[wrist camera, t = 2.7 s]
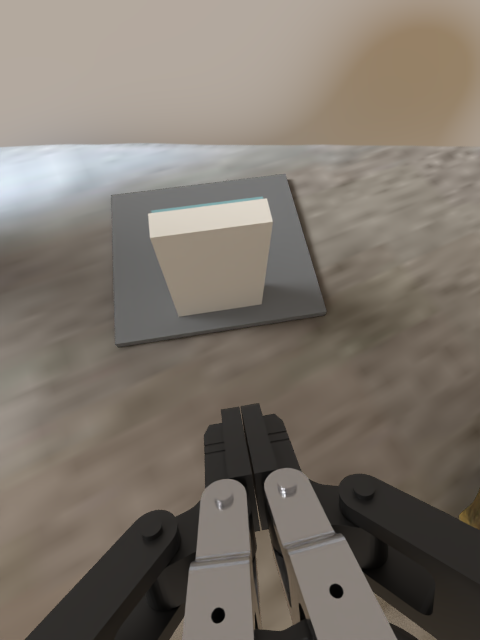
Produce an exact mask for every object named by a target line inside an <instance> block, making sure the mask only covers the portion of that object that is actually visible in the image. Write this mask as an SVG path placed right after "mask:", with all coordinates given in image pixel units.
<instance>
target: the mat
mask: <svg viewBox="0 0 480 640" xmlns="http://www.w3.org/2000/svg"><path fill="white" fill-rule="evenodd" d="M262 196H263V199H266V198H267V201H268V205H269V208H270V212H271V216H272V220H273V225H272V232H271V239H270V247H269V254H268V261H267V269H266V276H265V283H264V290H263V298H262V304H260V305H254V306H247V307H240V308H234V309H227V310H220V311H214V312H207V313H200V314H194V315H187V316H181V317H179V316H178V313H177V311H176V308H175V305H174V302H173V300H172V297H171V294H170V291H169V289H168V286H167V283H166V280H165V278H164V275H163V272H162V270H161V267H160V264H159V261H158V259H157V256H156V253H155V250H154V248H153V245H152V242H151V239H150V232H149V220H148V214H149V213H152V212H151V211H152V210H160V209H168V208H176V207H183V206H191V205H199V204H207V203H215V202H223V201H231V200H238V199H246V198H254V197H262ZM111 211H112V248H113V284H114V321H115V345H116V346H117V347H123V346H129V345H135V344H142V343H148V342H155V341H161V340H168V339H174V338H181V337H187V336H194V335H200V334H207V333H213V332H219V331H226V330H232V329H239V328H245V327H252V326H258V325H265V324H271V323H278V322H284V321H290V320H297V319H303V318H310V317H316V316H323V315H325V314H326V312H327V311H326V307H325V304H324V301H323V297H322V294H321V291H320V287H319V284H318V281H317V277H316V274H315V271H314V267H313V264H312V261H311V257H310V254H309V251H308V247H307V244H306V241H305V237H304V234H303V231H302V227H301V224H300V221H299V217H298V214H297V211H296V207H295V204H294V201H293V197H292V194H291V191H290V187H289V184H288V181H287V178H286V174H280V175H271V176H263V177H255V178H247V179H239V180H231V181H223V182H215V183H206V184H198V185H190V186H182V187H174V188H166V189H158V190H150V191H141V192H133V193H125V194H117V195H111Z"/></svg>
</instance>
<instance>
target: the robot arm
mask: <svg viewBox="0 0 480 640" xmlns="http://www.w3.org/2000/svg"><path fill="white" fill-rule="evenodd" d="M241 413H242V419H241V414H240V408H239V407H234V408H228V409H222V410H221V415H222V423H219V424H213V425H209V427H208V429H207V431H206V432H205V434H204V446H205V447H204V451H205V490H204V492H203V493H202V496H201V500H200V501H199V502H198V503H197V504H196V505H195V506H194V507H193V508H191V509H190V510H188V511H186V512H184V513H182V514H180V515H178V516H176V517H175V516H174V515H173V514H172V513H170V512H168V511H165V510H155V511H151V512H149V513H146V514H144V515H143V516H141V517H140V518H139V519H138V520H136V521H135V522H134V524H133V525H132V526H131V527H130V528H129V529H128V530H127V531H126V532H125V533H124V534H123V535H122V536H121V537H120V538H119V540H118V541H117V542H116V543H115V544H114V545H113V546H112V547H111V548H110V549H109V550H108V551H107V552H106V553H105V554H104V556H103V557H102V558H101V559H100V560H99V561H98V562H97V563H96V564H95V565H94V566H93V567H92V568H91V569H90V570H89V572H88V573H87V574H86V575H85V576H84V577H83V578H82V579H81V580H80V581H79V582H78V583H77V584H76V585H75V586H74V588H73V589H72V590H71V591H70V592H69V593H68V594H67V595H66V596H65V597H64V598H63V599H62V600H61V601H60V602H59V604H58V605H57V606H56V607H55V608H54V609H53V610H52V611H51V612H50V613H49V614H48V615H47V616H46V617H45V618H44V620H43V621H42V622H41V623H40V624H39V625H38V626H37V627H36V628H35V629H34V630H33V631H32V632H31V633H30V634H29V636H28V637H27V638H26V639H25V640H169V639H170V638H171V636H172V635H173V633H174V631H175V630H176V628H177V627H178V625H179V624H180V622H181V620H182V619H183V617H184V627H183V637H182V640H418V639H417V638H415V637H414V636H413V635H411V634H409V633H408V632H406V631H405V630H403V629H401V628H399V627H397V626H395V625H393V624H391V623H388V621H387V619H386V617H385V615H384V613H383V611H382V609H381V607H380V605H379V603H378V601H377V599H376V597H375V595H374V593H375V594H377V595H378V596H380V597H381V598H382V599H384V600H385V601H386V602H388V603H389V604H390V605H392V606H393V607H394V608H396V609H397V610H398V611H400V612H401V613H402V614H404V615H405V616H407V617H408V618H409V619H411V620H412V621H413V622H415V623H416V624H417V625H419V626H420V627H421V628H423V629H424V630H425V631H427V632H428V633H430V634H431V635H432V636H434V637H435V638H436V639H438V640H480V530H478V529H476V528H474V527H472V526H470V525H468V524H466V523H465V522H463V521H461V520H459V519H457V518H455V517H453V516H451V515H449V514H447V513H445V512H443V511H441V510H439V509H437V508H435V507H433V506H431V505H429V504H427V503H425V502H423V501H421V500H419V499H417V498H415V497H413V496H411V495H409V494H407V493H405V492H403V491H401V490H399V489H397V488H395V487H393V486H391V485H389V484H387V483H385V482H383V481H381V480H379V479H377V478H375V477H372V476H370V475H366V474H353V475H349V476H347V477H345V478H344V479H343V480H342V481H341V483H340V485H339V486H330V485H322V484H318V483H316V482H313V481H311V480H310V479H308V478H307V476H306V475H305V474H304V473H302V471H301V469H300V466H299V464H298V461H297V458H296V455H295V453H294V450H293V447H292V445H291V442H290V440H289V437H288V434H287V432H286V428H285V426H284V423H283V421H282V420H281V419H280V418H279V417H278V416H276V415H275V414H271V415H265V416H262V412H261V409H260V405H259V403H257V404H251V405H245V406H241ZM242 420H243V424H242ZM243 426H244V429H243ZM244 433H245V435H244ZM254 490H255V491H254ZM255 495H256V498H255ZM256 500H257V505H258V511H259V516H260V521H261V527H262V530H266V529H269V533H270V537H271V543H272V551H273V556H274V559H275V563H276V566H277V570H278V573H279V577H280V580H281V584H282V587H283V591H284V594H285V598H286V601H287V605H288V608H289V611H290V615H291V619H292V623H293V626H291V627H289V628H287V629H285V630H283V631H271V630H262V621H261V609H260V597H259V584H258V572H257V560H256V549H257V545H256V538H255V532H256V531H260V526H259V519H258V512H257V505H256ZM373 592H374V593H373Z"/></svg>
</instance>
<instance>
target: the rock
mask: <svg viewBox="0 0 480 640" xmlns="http://www.w3.org/2000/svg"><path fill="white" fill-rule="evenodd" d="M459 520H461V521H463V522H465V523H466V524H468V525H470V526H472V527H474V528H476V529H478V530H480V489H479V491H478V494H477V496H476V498H475V500H474V502H473V503H472V504H471V505H470V506H469V507H467V508H466V509H465V510H464V511H463V512H462V513H461V514H460V515H459Z"/></svg>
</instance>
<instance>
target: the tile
mask: <svg viewBox="0 0 480 640" xmlns="http://www.w3.org/2000/svg"><path fill="white" fill-rule="evenodd" d="M151 212H152V213H149V214H148V220H149V232H150V239H151V242H152V245H153V248H154V250H155V253H156V256H157V259H158V261H159V264H160V267H161V270H162V272H163V275H164V278H165V280H166V283H167V286H168V289H169V291H170V294H171V297H172V300H173V302H174V305H175V308H176V311H177V313H178V316H179V317H181V316H187V315H194V314H200V313H207V312H214V311H220V310H227V309H234V308H240V307H247V306H254V305H260V304H262V298H263V290H264V283H265V276H266V269H267V261H268V254H269V247H270V239H271V232H272V225H273V220H272V216H271V212H270V208H269V205H268V201H267V198H266V199H263V196H262V197H254V198H246V199H238V200H231V201H223V202H215V203H207V204H199V205H191V206H183V207H176V208H168V209H160V210H152V211H151Z"/></svg>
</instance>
